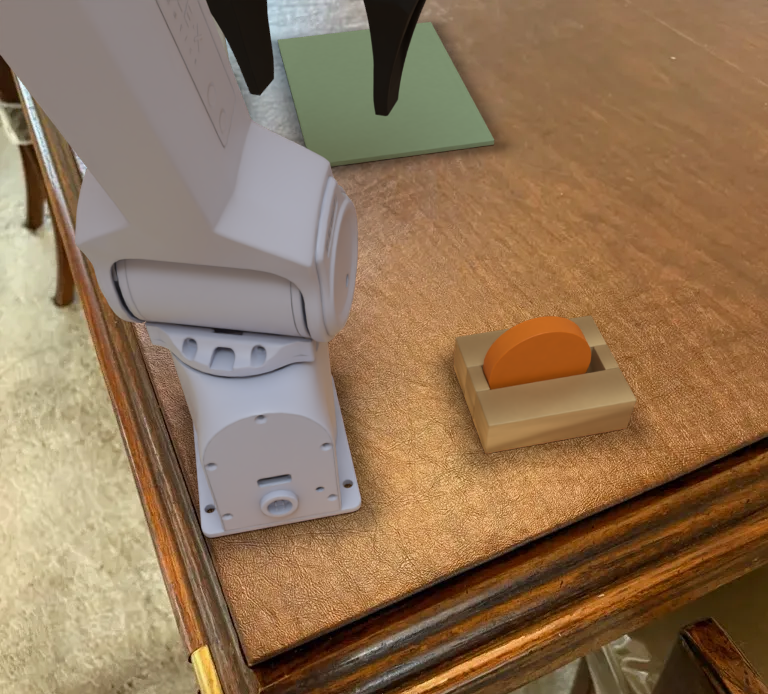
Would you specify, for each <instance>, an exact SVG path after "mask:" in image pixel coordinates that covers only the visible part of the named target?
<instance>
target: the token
mask: <svg viewBox="0 0 768 694" xmlns="http://www.w3.org/2000/svg"><path fill="white" fill-rule="evenodd" d="M569 319H570V318H567V317H563V316H555V315H544V316H538V317H533V318H530V319H526V320H524V321H521V322H519V323H518V324H516V325H514V326H511V327H510V328H508V329H509V330H507V331H506V332H504V333H503V334H502V335H501V336H500V337H499V338H497V339H496V340H495V342H494V343H493V344H492V345H491V347H490V348H489V350H488V352H487V353H486V356H485V359H484V363H483V371H484V375H485V378H486V380H487V383H488V385H489V388H490V390H492V389H498V388H504V387H509V386H515V385H521V384H527V383H533V382H539V381H545V380H550V379H556V378H562V377H568V376H574V375H580V374H585V373H586V371H587V369H588V367H589V365H590V361H591V350H590V346H589V344H588V342H587V340H586V339H585V337H584V335H583V333H582V331H581V329H580V328H579V326H578V325H576V324H575V323H574V322H572V321H571V320H569Z"/></svg>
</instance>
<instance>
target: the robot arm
mask: <svg viewBox="0 0 768 694" xmlns="http://www.w3.org/2000/svg"><path fill="white" fill-rule="evenodd" d="M362 1H363V4H364V5H363V6H364V8H365V13H366V17H367V24H368V29H370V36H371V43H372V52H373V102H374V109H375V115H380V116H388V115H389V113H390V112H391V110H392V109H393V107H394V105H395V104H396V102H397V101H398V96H399V88H400V82H401V77H402V72H403V67H404V63H405V59H406V55H407V52H408V48H409V45H410V42H411V39H412V36H413V33H414V30H415V27H416V24H417V23H419V22H418V21H419V20H420V17H421V14H422V11H423V9H424V7H425V5H426V2H427V0H362ZM268 11H269V10H268V0H0V56H1V57H2V60H4V62H5V63H6V64H7V65H8V67H9V68H10V69H11V71H12V72H13V73H14V74H15V76H16V77H17V78H18V80H19V81H20V82H21V84H22V85H23V86H24V88H25V89H26V90H27V92H28V93H29V94H30V95H31V97H32V98H33V99H34V101H35V102H36V103H37V104H38V106H39V107H40V109H41V110H42V111H43V112H44V114H45V115H46V117H47V118H48V120H50V121H51V123H52V124H53V126H54V127H55V128H56V129H57V130H58V132H59V133H60V135H61V136H62V137H63V138H64V140H65V141H66V143H68V145H69V147H70V148H71V149H72V151H73V152H74V153H75V154H76V155H77V157H78V159H79V160H80V161H81V163H82V164H84V166H85V167H86V169H85V172H84V174H83V175H84V176H83V179H82V181H81V185H80V190H79V195H78V200H77V204H76V205H77V206H76V213H75V214H76V216H75V229H74V230H75V231H74V232H75V234H74V244H75V245H76V247H77V248H78V249H79V250H80V251H81V252H82V254H84V255H85V257H86V258H87V259H88V261H89V262H90V263H91V266H92V267H93V269H94V275H95V278H96V281H97V285H98V288H99V290H100V292H101V294H102V295H103V297H104V298H105V300H106V302H107V304H108V306H109V307H110V309H111V310H112V311H113V313H114V314H115V315H116V316H117V317H118V318H119V319H121V320H122V321H125V322H127V323H136V324H143V323H144V325H145V328H146V331H147V335H148V338H149V340H150V343H151V344H152V345H153V346H158V347H163V348H165V349H167V350H169V353H170V356H171V359H172V362H173V365H174V369H175V371H176V374H177V378H178V380H179V383H180V387H181V389H182V392H183V395H184V399H185V402H186V405H187V408H188V411H189V414H190V417H191V421H192V428H193V440H194V441H193V442H194V452H195V453H194V454H195V465H196V479H197V490H198V502H199V515H200V527H201V531H202V533H203V535H204V536H205V537H207V538H209V539H210V538H218V537H223V536H229V535H234V534H235V535H236V534H241V533H247V532H252V531H256V530H262V529H266V528H272V527H279V526H282V525H289V524H294V523H299V522H305V521H310V520H316V519H320V518H326V517H332V516H338V515H342V514H348V513H354V512H356V511H358V510H359V509H360V508H361V507H362V496H361V491H360V488H359V484H358V479H357V475H356V470H355V466H354V461H353V457H352V453H351V449H350V444H349V441H348V436H347V432H346V427H345V423H344V419H343V415H342V410H341V406H340V401H339V398H338V394H337V389H336V388H337V387H336V384H335V379H334V376H333V375H332V367H331V358H330V357H331V356H330V347H329V342H331V341H332V340H334V338H335V337H336V336H337V335H338V334H339V333H340V332H341V331H342V330H343V329H345V326H346V325H347V323H348V321H349V317H350V314H351V310H352V306H353V301H354V296H355V290H356V283H357V273H358V262H359V261H358V260H359V225H358V216H357V210H356V207H355V204H354V202H353V201H352V200H351V198H350V197H349V196H348V195H347V191H346V190H345V189H344V188H343V186H342V185H339V184H338V181H337V180H336V178H335V177H334V174H333V170H332V167H331V166H330V162H329V161H328V160H327V159H325V158H324V157H322V156H320V155H318V154H316V153H315V152H313V151H311V150H309V149H307V148H306V146H303V145H302V144H300V143H298V142H295V141H293V140H292V139H288V138H287V137H285V136H284V135H281V134H279V133H277V132H275V131H273V130H271V129H270V128H268V127H265V126H263V125H261V124H260V123H258V122H256V121H255V120H253V119H252V117H251V115H250V113H249V109H248V107H247V104H246V102H245V98H244V96H243V94H242V91H241V88H240V86H239V83H238V81H237V78H236V75H235V72H234V70H233V68H232V65H231V62H230V59H229V60H228V57H229V56H228V57H227V54H226V52H225V49H224V47H223V44H222V41H221V39H220V36H219V33H218V31H217V28H216V26H215V23H214V20H213V18H212V16H213V17H214V19H215V21H216V22H217V24H218V26H219V27H220V29H221V31H222V32H223V34H224V36H225V39H226V43H227V44H228V45H229V48H230V50H231V52H232V54H233V56H234V58H235V61H236V63H237V65H238V67H239V70H240V72H241V75H242V77H243V79H244V82H245V85H246V88H247V90H248V91H249V94H250V95H253V96H261V95H262V94H263V93H264V91H266V89H267V88H268V87H269V86H270V85H271V83H272V82H273V81H274V80H275V59H274V58H275V57H274V51H273V43H272V42H273V41H272V36H271V28H270V21H269V13H268ZM211 14H212V15H211ZM346 485H350V487H345V486H346ZM209 510H213V511H212V512H208V511H209Z"/></svg>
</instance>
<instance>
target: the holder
mask: <svg viewBox="0 0 768 694" xmlns="http://www.w3.org/2000/svg"><path fill="white" fill-rule="evenodd" d="M568 319H569V320H571V321H572V322H574V323H575V324H576V325H578V326H579V328H580V329H581V331H582V333H583V335H584V337H585V339H586V340H587V342H588V344H589V346H590V350H591V361H590V365H589V367H588V369H587V371H586V373H585V374H580V375H574V376H568V377H562V378H556V379H550V380H545V381H539V382H533V383H527V384H521V385H515V386H509V387H504V388H498V389H492V390H490V388H489V385H488V383H487V380H486V378H485V375H484V371H483V363H484V359H485V356H486V353H487V352H488V350H489V348H490V347H491V345H492V344H493V343H494V342H495V340H496V339H497V338H499V337H500V336H501V335H502V334H503V333H504V332H506V331H507V330H509V329H510V328H503V329H498V330H492V331H485V332H479V333H473V334H466V335H461V336H460V335H459V336H456V337H455V338H454V339H455V340H454V355H453V366H452V367H453V370H454V372H455V375H456V378H457V380H458V384H459V387H460V388H461V392H462V395H463V397H464V400H465V402H466V405H467V408H468V411H469V413H470V417H471V419H472V421H473V424H474V428H475V430H476V432H477V433H476V434H477V435H478V438H479V441H480V444H481V446H482V449H483V452H484V454H486V455H488V454H492V453H497V452H503V451H510V450H514V449H520V448H526V447H531V446H537V445H543V444H547V443H553V442H560V441H565V440H570V439H575V438H582V437H587V436H592V435H598V434H604V433H608V432H615V431H620V430H625V429H628V425H629V423H630V420H631V417H632V415H633V411H634V409H635V406H636V403H637V397H636V395H635V394H634V392H633V390H632V388H631V386H630V384H629V383H628V380H627V379H626V377H625V376H624V374H623V372H622V370H621V368H620V365H619V363H618V362H617V360H616V358H615V356H614V355H613V353H612V351H611V349H610V347H609V345H608V344H607V341H606V340H605V338H604V336H603V335H602V333H601V331H600V329H599V327H598V325H597V324H596V322H595V320H594V318H593V316H592V315H591V314H590V315H584V316H578V317H572V318H568Z"/></svg>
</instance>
